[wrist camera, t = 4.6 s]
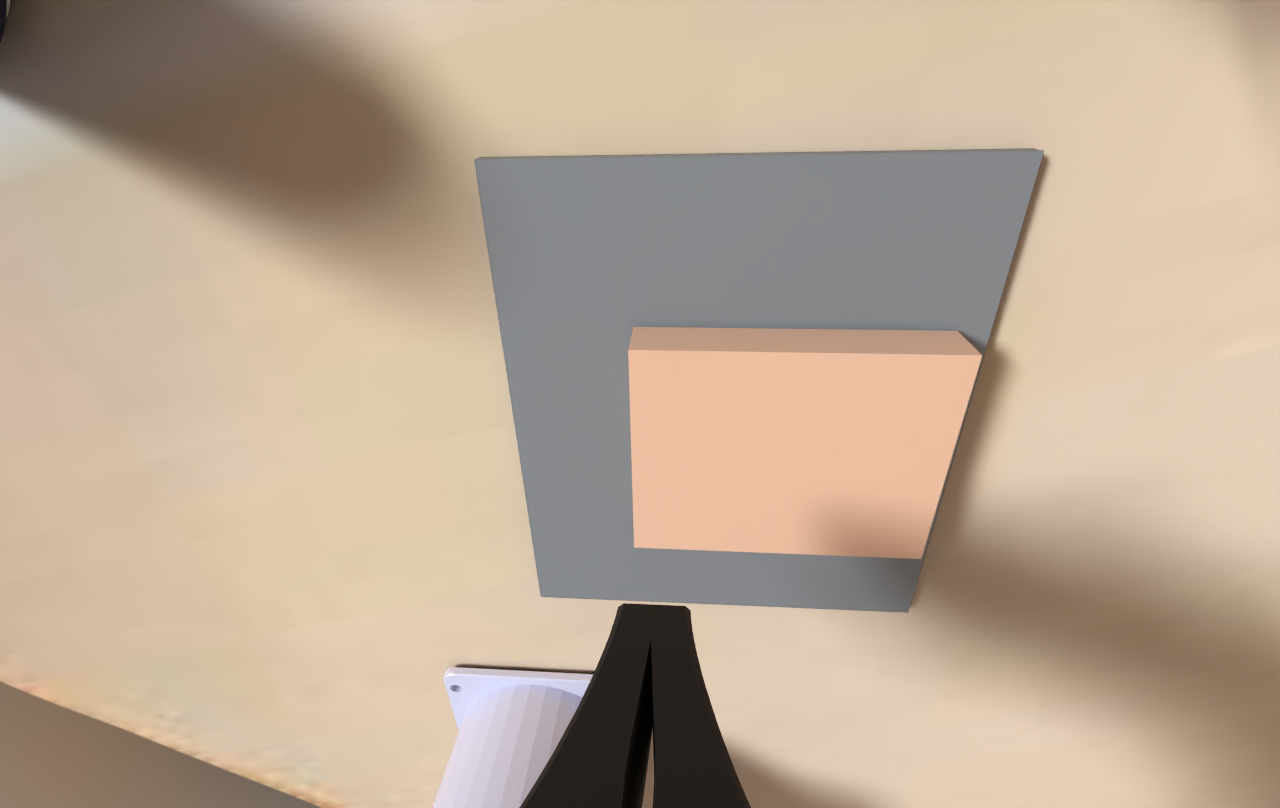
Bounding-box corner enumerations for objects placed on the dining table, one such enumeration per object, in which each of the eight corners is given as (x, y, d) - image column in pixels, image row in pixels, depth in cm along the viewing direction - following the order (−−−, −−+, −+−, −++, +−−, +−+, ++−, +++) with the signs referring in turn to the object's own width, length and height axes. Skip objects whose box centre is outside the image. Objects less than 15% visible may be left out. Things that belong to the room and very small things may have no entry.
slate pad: (903, 601, 22) (908, 612, 22) (543, 587, 24) (540, 596, 23) (1033, 148, 14) (1044, 151, 14) (480, 157, 16) (474, 160, 15)
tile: (638, 511, 21) (902, 520, 20) (634, 547, 19) (921, 559, 18) (633, 324, 17) (954, 327, 16) (628, 349, 16) (982, 355, 15)
